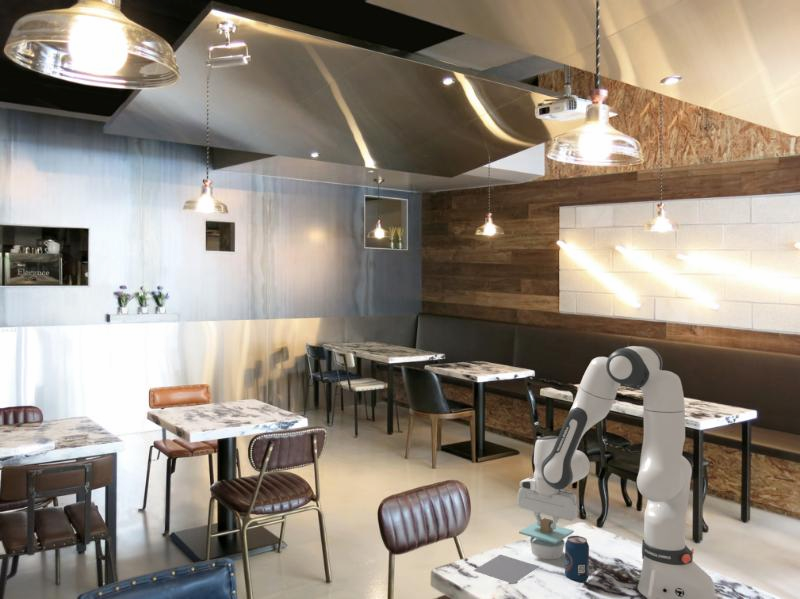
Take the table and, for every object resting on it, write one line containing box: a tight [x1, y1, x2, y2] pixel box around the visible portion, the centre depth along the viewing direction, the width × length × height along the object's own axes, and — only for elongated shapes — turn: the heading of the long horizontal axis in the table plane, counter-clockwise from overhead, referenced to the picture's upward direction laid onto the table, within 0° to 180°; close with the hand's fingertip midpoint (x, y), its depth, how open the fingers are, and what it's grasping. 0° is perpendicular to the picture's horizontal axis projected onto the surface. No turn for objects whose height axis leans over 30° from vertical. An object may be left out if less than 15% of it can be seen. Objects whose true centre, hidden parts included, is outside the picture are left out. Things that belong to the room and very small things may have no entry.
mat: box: [473, 554, 540, 585], centre depth 200 cm, size 14×16×1 cm
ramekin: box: [529, 536, 565, 560], centre depth 212 cm, size 11×11×5 cm
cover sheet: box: [518, 517, 575, 544], centre depth 212 cm, size 13×13×4 cm
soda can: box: [564, 535, 590, 584], centre depth 195 cm, size 7×7×12 cm
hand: (546, 527), depth 212 cm, fingers closed on cover sheet, 3 cm apart
